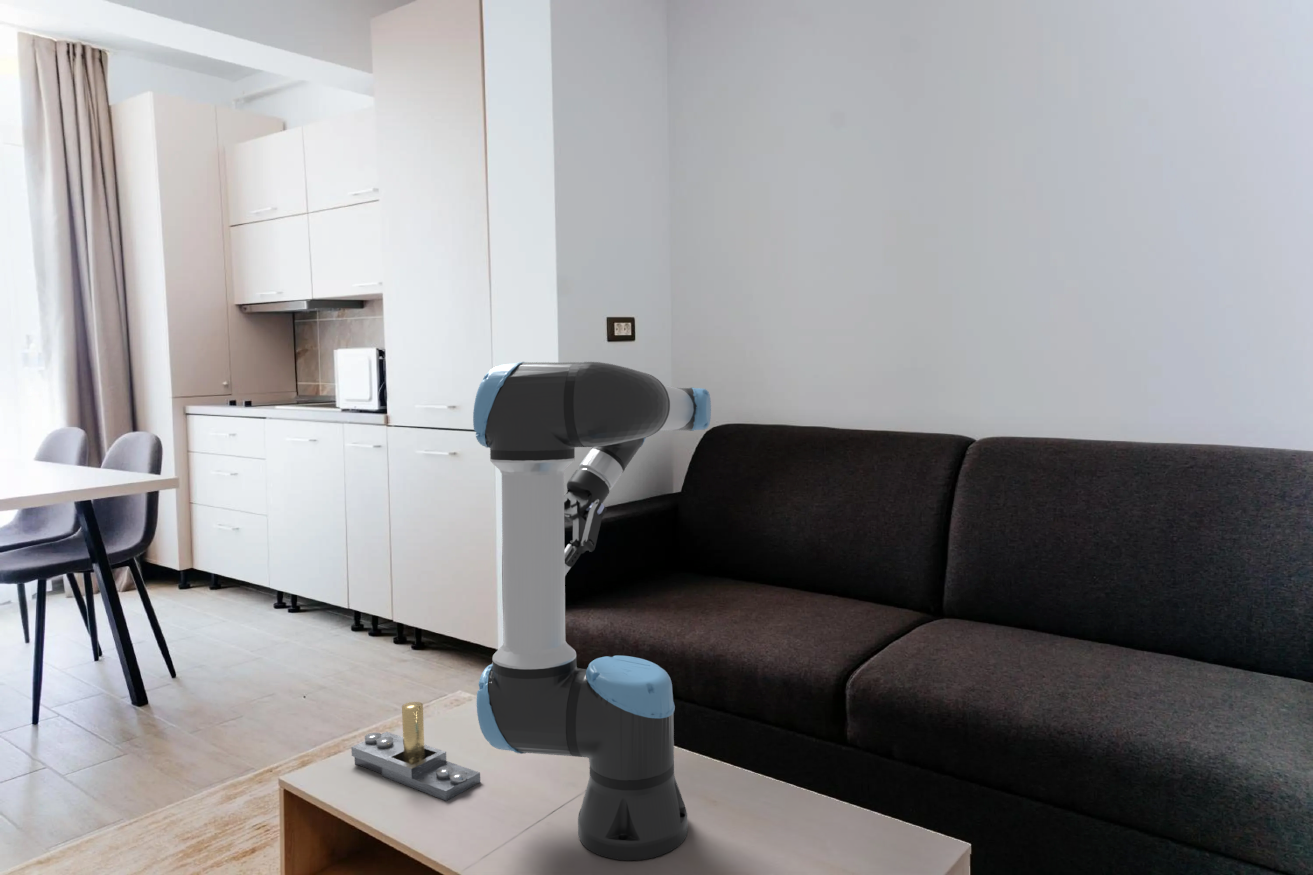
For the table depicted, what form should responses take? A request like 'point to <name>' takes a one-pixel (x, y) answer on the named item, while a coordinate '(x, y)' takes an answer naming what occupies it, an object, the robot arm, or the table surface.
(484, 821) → the table surface
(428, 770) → the riveted socket plate
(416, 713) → the pin
